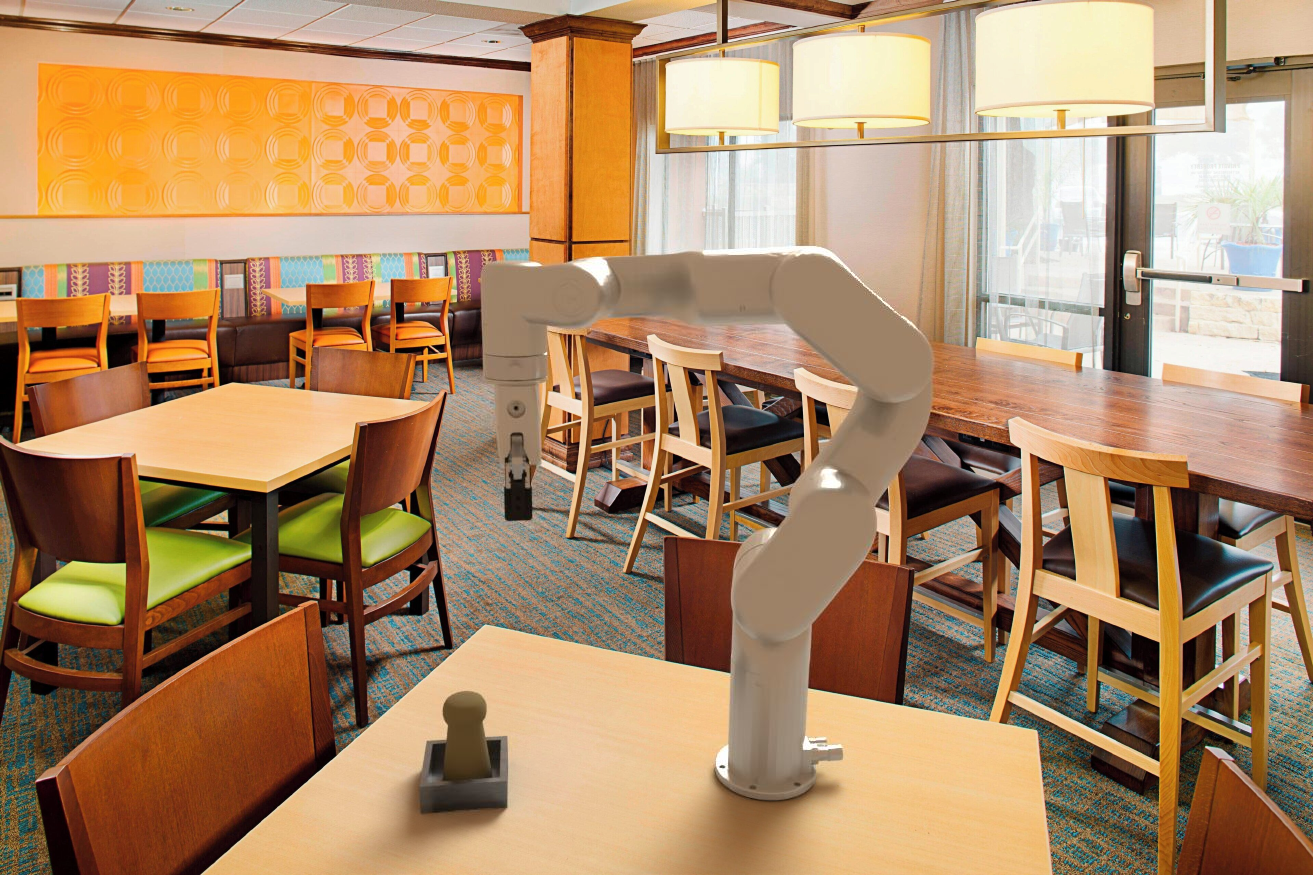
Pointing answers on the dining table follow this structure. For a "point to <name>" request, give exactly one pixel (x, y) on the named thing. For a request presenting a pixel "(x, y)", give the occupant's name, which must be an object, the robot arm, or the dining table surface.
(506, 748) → the socket
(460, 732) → the cork
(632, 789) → the dining table surface
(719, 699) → the dining table surface
